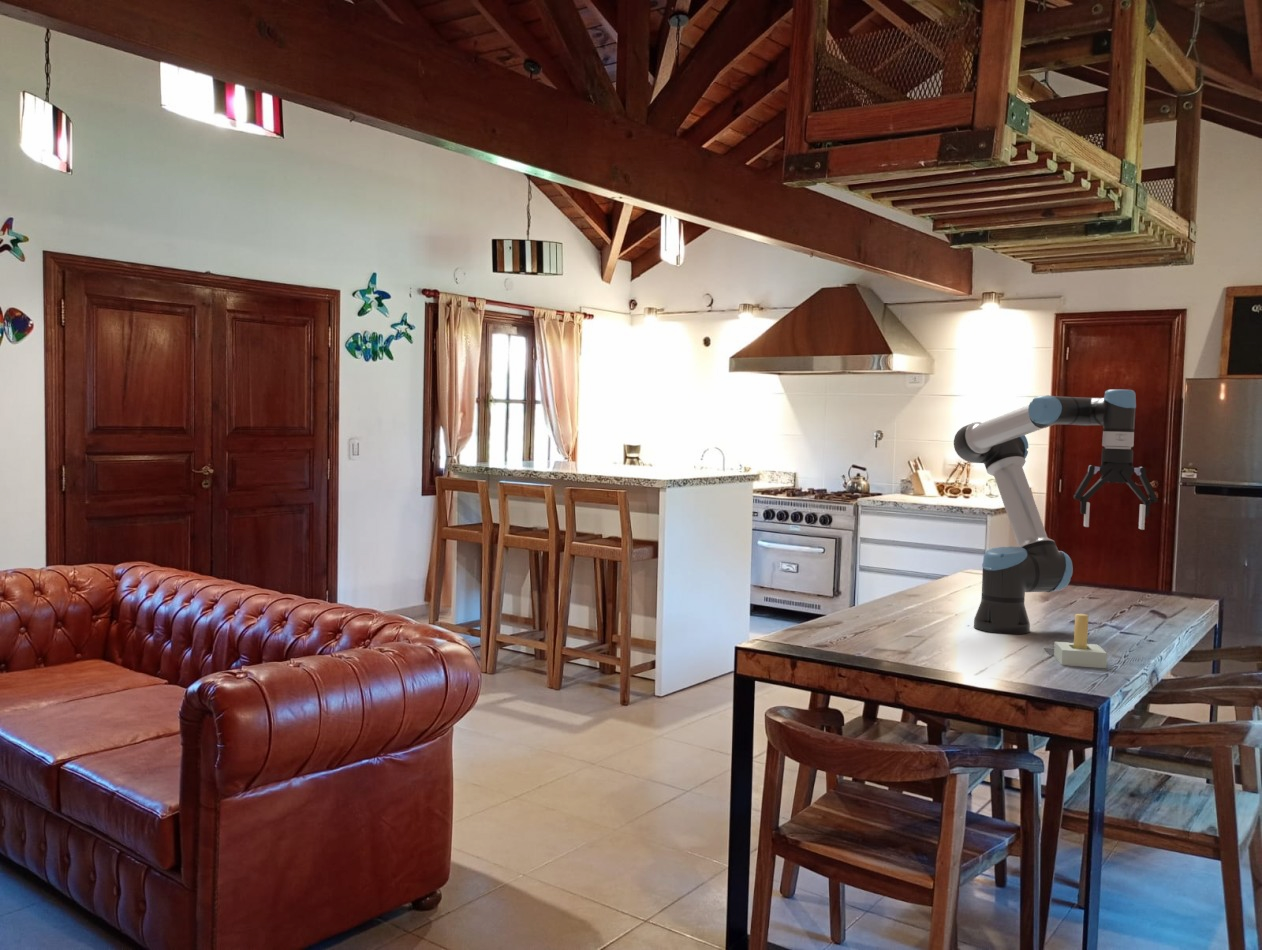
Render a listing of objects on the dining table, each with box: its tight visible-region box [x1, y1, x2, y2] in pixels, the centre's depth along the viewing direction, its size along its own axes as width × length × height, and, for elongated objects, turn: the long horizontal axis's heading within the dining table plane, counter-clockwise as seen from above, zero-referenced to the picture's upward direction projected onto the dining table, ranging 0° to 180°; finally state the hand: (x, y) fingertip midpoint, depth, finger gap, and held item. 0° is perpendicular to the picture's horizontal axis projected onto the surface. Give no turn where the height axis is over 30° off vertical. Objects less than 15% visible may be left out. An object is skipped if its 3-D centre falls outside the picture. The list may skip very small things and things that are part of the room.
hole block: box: [1053, 641, 1108, 669], centre depth 248 cm, size 10×10×4 cm
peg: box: [1073, 613, 1089, 649], centre depth 247 cm, size 3×3×12 cm
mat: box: [1043, 647, 1054, 656], centre depth 257 cm, size 12×8×1 cm, turn 77°
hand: (1113, 528), depth 268 cm, fingers open, 13 cm apart
